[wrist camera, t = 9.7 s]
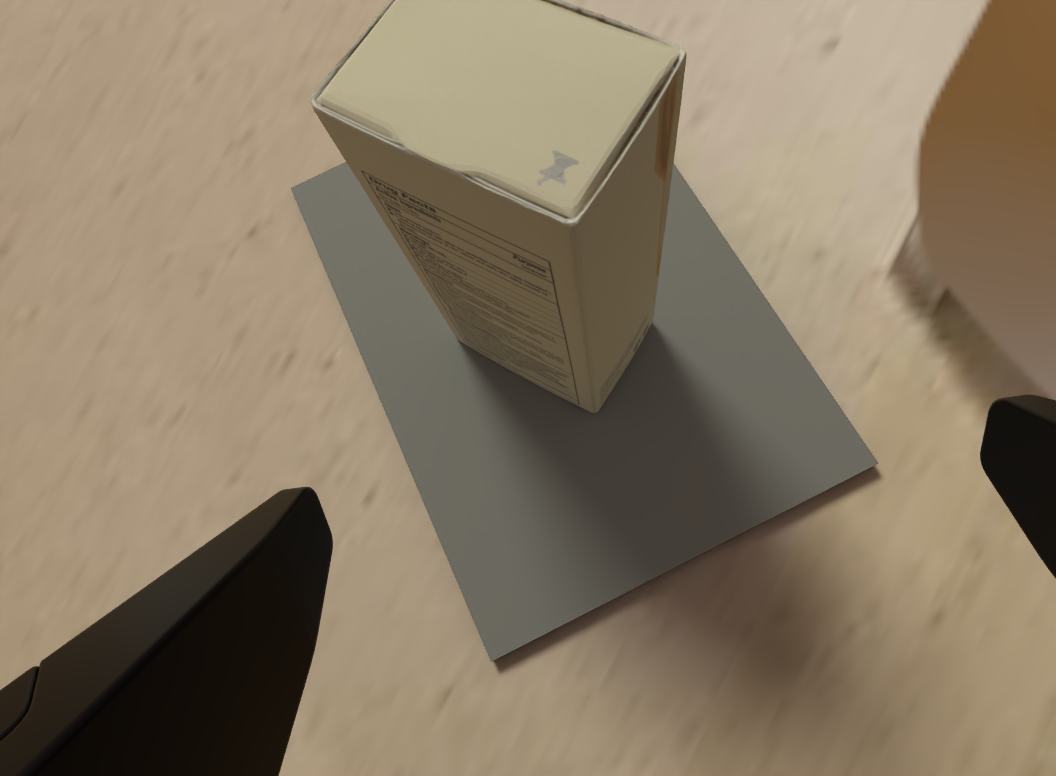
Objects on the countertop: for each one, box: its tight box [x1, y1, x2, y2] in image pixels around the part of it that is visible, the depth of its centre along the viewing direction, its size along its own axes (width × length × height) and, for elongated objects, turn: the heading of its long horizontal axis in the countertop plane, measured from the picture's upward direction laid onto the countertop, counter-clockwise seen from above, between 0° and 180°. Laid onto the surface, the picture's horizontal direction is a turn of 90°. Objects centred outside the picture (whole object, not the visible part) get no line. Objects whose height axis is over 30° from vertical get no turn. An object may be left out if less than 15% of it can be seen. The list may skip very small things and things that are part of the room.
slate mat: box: [291, 162, 878, 662], centre depth 24 cm, size 20×14×1 cm
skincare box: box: [311, 0, 686, 413], centre depth 18 cm, size 6×4×12 cm
